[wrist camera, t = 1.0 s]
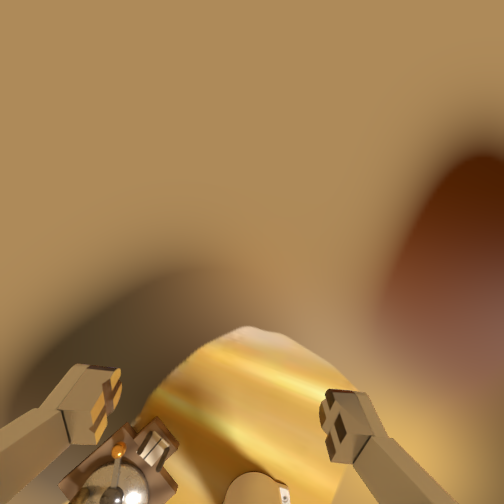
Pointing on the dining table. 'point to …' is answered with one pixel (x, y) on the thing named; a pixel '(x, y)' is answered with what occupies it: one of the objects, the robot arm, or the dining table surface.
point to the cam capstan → (114, 483)
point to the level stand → (132, 460)
